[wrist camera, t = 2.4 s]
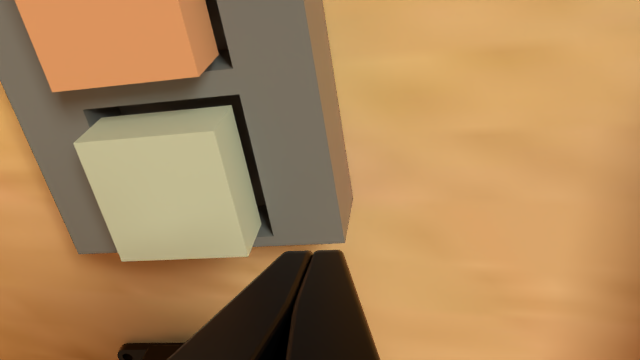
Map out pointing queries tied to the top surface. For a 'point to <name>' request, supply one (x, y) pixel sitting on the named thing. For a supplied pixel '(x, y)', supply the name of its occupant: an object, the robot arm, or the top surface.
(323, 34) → the button panel
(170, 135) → the sage key
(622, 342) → the top surface
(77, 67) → the terracotta key
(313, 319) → the robot arm
